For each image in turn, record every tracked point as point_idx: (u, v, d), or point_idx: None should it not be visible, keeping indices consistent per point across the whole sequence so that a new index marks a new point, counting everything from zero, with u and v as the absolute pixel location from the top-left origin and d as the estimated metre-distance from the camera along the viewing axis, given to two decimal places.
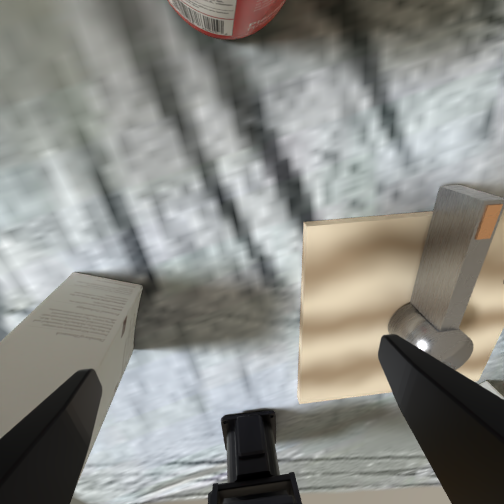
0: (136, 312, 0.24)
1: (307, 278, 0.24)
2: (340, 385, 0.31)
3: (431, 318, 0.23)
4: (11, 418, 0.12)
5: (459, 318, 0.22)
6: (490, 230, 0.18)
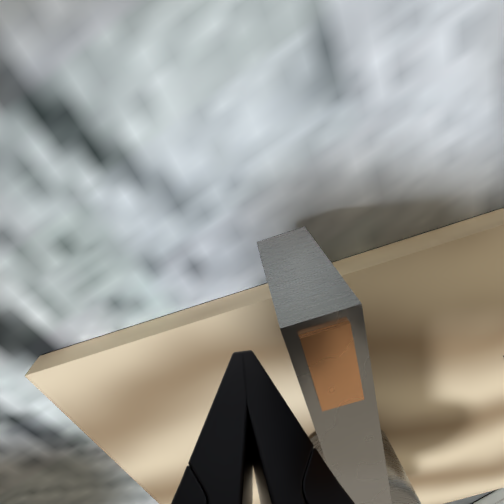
0: None
1: (99, 440, 0.13)
2: None
3: None
4: None
5: None
6: (353, 384, 0.06)
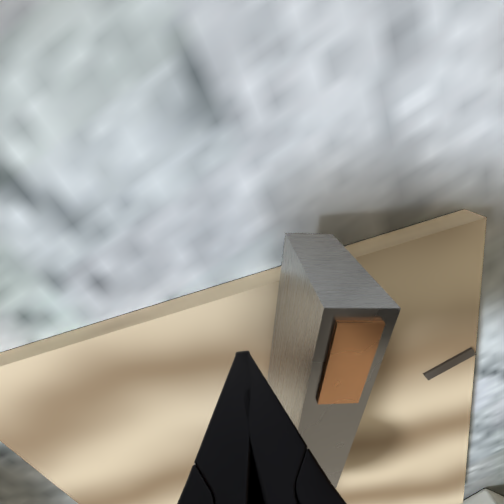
0: None
1: (19, 451, 0.13)
2: None
3: None
4: None
5: None
6: (356, 385, 0.06)
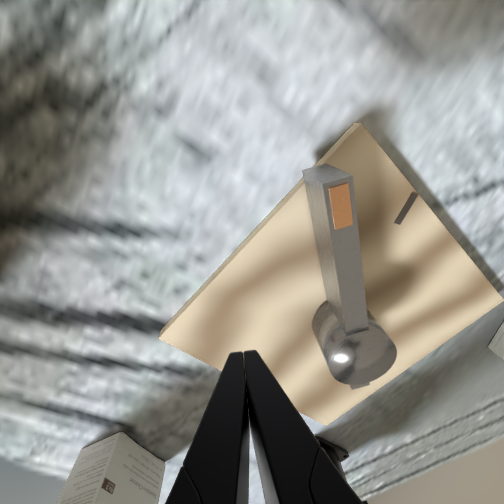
0: (134, 448, 0.30)
1: (206, 361, 0.25)
2: (344, 395, 0.29)
3: (339, 320, 0.20)
4: None
5: (363, 317, 0.19)
6: (348, 215, 0.15)
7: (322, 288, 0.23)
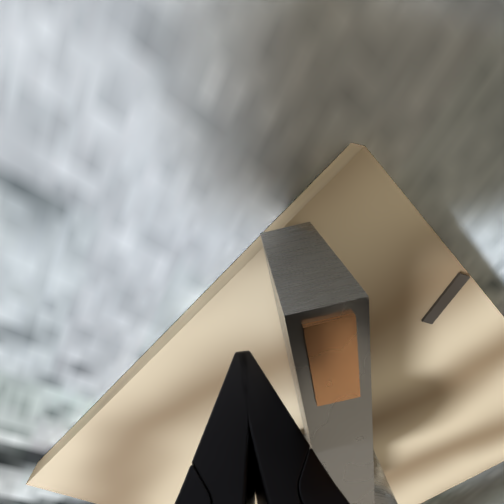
0: None
1: None
2: None
3: None
4: None
5: None
6: (351, 380, 0.06)
7: (295, 414, 0.13)
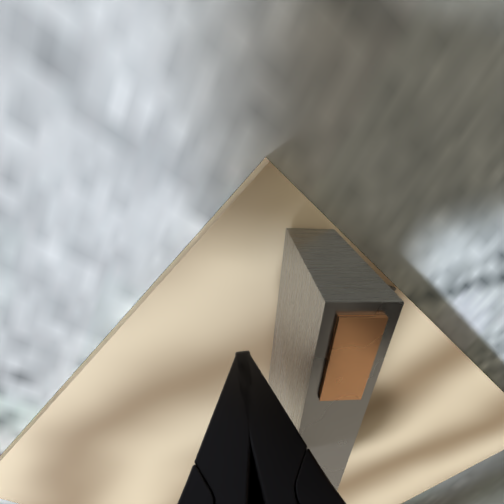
0: None
1: None
2: None
3: None
4: None
5: None
6: (359, 381, 0.06)
7: None
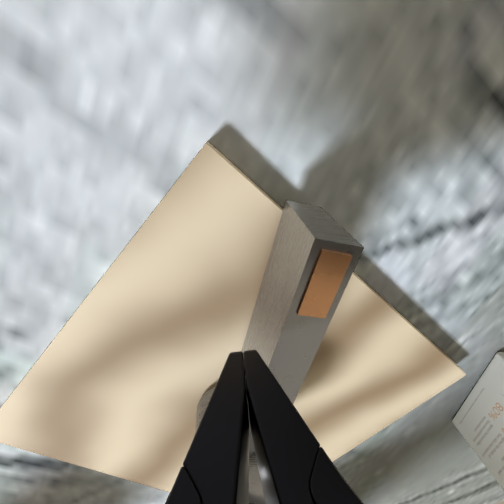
0: None
1: (61, 458, 0.18)
2: None
3: None
4: None
5: None
6: (326, 303, 0.09)
7: (203, 370, 0.16)
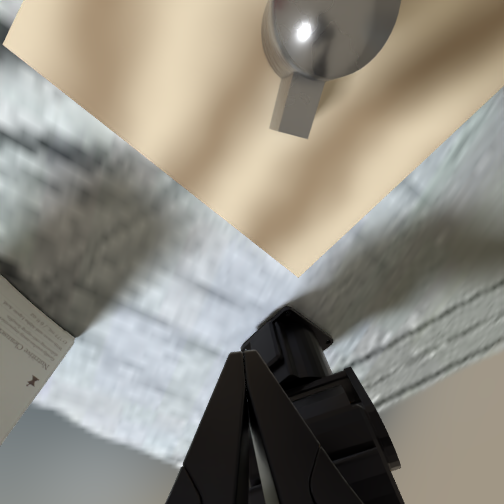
0: (18, 300, 0.21)
1: (97, 113, 0.16)
2: (322, 217, 0.20)
3: None
4: None
5: None
6: None
7: None
